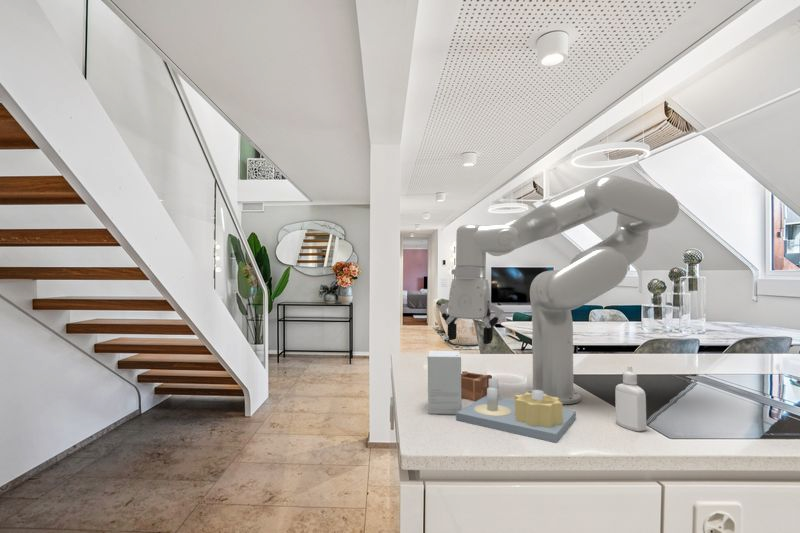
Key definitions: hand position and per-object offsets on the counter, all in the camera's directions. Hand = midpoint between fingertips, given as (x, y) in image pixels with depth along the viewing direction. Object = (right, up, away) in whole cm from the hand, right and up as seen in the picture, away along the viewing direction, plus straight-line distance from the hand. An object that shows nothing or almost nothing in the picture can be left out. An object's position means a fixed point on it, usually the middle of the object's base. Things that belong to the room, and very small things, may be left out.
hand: (469, 341), depth 101 cm
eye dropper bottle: (+28, -13, -22) cm, 38 cm away
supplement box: (-8, -13, -11) cm, 19 cm away
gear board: (+7, -13, -17) cm, 23 cm away
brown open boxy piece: (0, -14, -1) cm, 14 cm away
